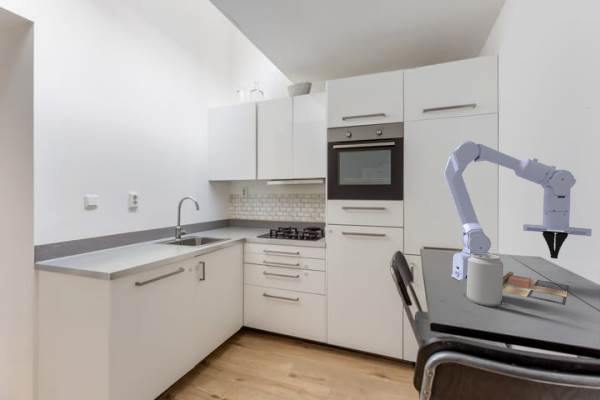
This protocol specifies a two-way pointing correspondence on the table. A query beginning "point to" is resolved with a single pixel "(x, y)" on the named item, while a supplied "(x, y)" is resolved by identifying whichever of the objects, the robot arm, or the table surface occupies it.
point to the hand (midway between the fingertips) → (554, 257)
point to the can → (485, 279)
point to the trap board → (534, 289)
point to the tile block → (520, 281)
